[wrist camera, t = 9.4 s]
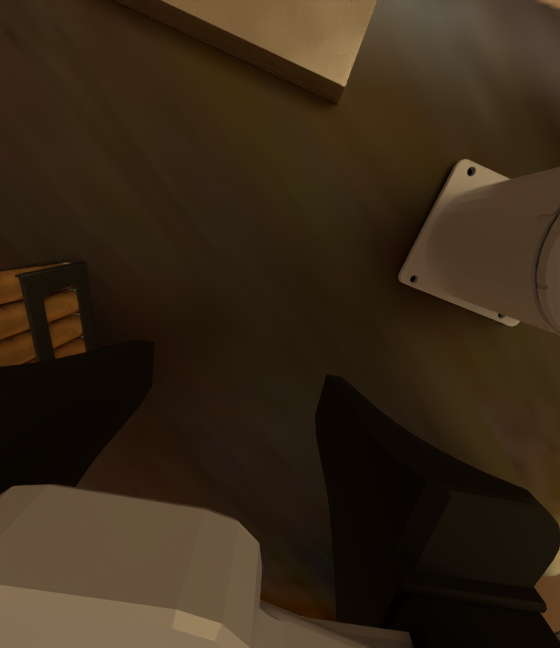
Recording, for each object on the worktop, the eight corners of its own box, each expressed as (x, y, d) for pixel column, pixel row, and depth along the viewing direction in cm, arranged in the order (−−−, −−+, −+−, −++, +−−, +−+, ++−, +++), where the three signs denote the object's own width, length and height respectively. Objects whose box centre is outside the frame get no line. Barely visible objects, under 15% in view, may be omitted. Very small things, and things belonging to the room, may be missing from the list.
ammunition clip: (104, 394, 23) (-79, 556, 11) (82, 392, 23) (-125, 553, 11) (85, 261, 19) (-203, 298, 8) (59, 259, 19) (-269, 294, 8)
